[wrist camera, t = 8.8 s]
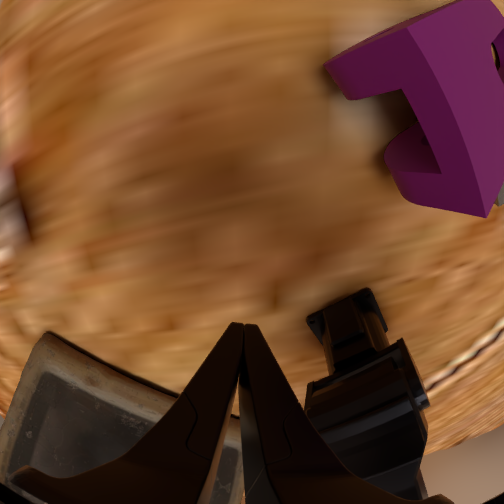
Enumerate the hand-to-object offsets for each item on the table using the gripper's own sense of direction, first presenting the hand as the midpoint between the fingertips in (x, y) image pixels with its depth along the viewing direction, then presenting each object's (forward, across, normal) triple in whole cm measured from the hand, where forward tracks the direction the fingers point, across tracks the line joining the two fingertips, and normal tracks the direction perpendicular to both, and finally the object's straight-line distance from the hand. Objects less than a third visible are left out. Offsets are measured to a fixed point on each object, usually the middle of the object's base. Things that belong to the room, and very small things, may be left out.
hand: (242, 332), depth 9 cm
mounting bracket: (+13, -13, -13) cm, 22 cm away
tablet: (+13, +12, +30) cm, 35 cm away
